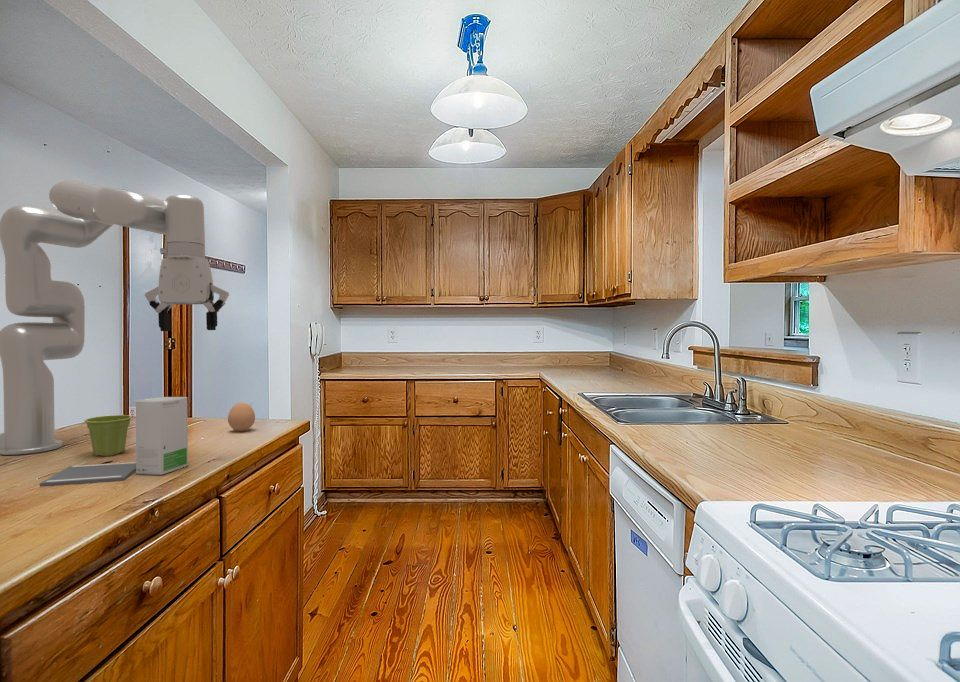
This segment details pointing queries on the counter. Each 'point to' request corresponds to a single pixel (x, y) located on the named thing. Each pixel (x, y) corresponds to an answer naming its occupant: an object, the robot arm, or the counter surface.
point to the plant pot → (108, 434)
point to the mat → (91, 474)
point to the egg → (241, 417)
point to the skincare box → (161, 435)
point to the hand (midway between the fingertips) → (188, 330)
